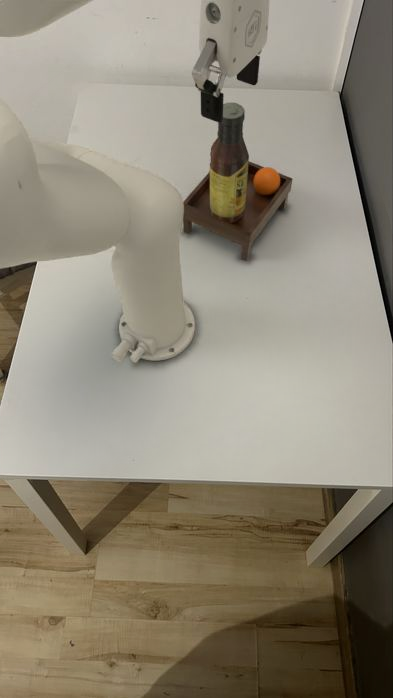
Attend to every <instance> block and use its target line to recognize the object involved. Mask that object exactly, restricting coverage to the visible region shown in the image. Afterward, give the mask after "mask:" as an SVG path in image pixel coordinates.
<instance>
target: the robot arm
mask: <svg viewBox="0 0 393 698" xmlns="http://www.w3.org/2000/svg"><path fill="white" fill-rule="evenodd" d="M93 1H94V0H0V37H2V38H16V37H17V38H18V37H23V36H27V35H30V34H33V33H37V32H39V31H40V30H41V29H44V28H46V27H48V26H50V25H51V24H53V23H55V22H57V21H58V20H61V19H62V18H64V17H66V16H68V15H70V14H71V13H74V12H75V11H77V10H78V9H80V8H82V7H83V6H85V5H87V4H89V3H91V2H93ZM269 11H270V0H200V11H199V13H200V14H199V35H198V36H199V39H198V40H199V41H198V43H199V44H198V47H199V50H198V51H199V56H198V58H197V61H196V62H195V64H194V66H193V68H192V70H191V76H192V78H193V82H194V87H195V88H196V89H197V90H198V91H199V92H200V115H201V117H202V118H206V119H207V120H210V121H213V122H216V123H217V124H218V123H220V122H221V121H222V120H223V104H224V99H225V97H224V95H225V94H224V93H223V92H222V89H223V87H224V83H225V80H226V77H227V78H230V79H231V78H234V77H236V80H237V81H239V82H242V83H245V84H248V85H250V86H256V85H257V84H258V82H259V72H260V71H259V70H260V61H261V60H260V59H261V56H260V55H261V53H262V51H263V49H264V48H265V46H266V43H267V40H268V33H269V32H268V31H269V15H270V12H269ZM215 62H217V63H218V66H219V67H218V66H216V65H213V64H214V63H215ZM211 73H214V74H217V77H216V81H215V83H214V82H213V81H212V80H210V77H211V76H210V75H211ZM183 202H184V199H183V197H182V194H181V193H180V191H179V190H178V188H177V187H175V186H174V185H173V184H172V183H171V182H170V181H168V180H166V179H165V178H163V177H161V176H159V175H158V174H155V173H153V172H150V171H148V170H146V169H143V168H140V167H137V166H135V165H133V164H130V163H128V162H126V161H125V162H124V161H122V160H118V159H115V158H113V157H111V156H108V155H105V154H103V153H100V152H98V151H95V150H92V149H89V148H87V147H83V146H80V145H74V144H70V143H64V142H58V141H52V140H48V139H41V138H36V137H32V136H31V137H30V136H29V134H28V132H27V130H26V128H25V126H24V125H23V122H22V121H21V119H20V118H19V117H18V116H17V114H16V113H15V111H14V110H13V109H12V108H11V107H10V106H9V105H8V104H7V103H6V101H4V100H3V99H2V98H1V97H0V270H1V269H7V268H11V267H17V266H20V265H24V264H29V263H36V262H50V261H56V260H63V259H70V258H79V257H84V256H85V257H86V256H92V255H97V254H99V253H102V252H105V251H107V250H109V249H111V248H113V247H114V248H115V249H114V250H113V252H112V255H111V259H110V267H111V274H112V277H113V281H114V283H115V288H116V289H117V290H116V291H117V294H118V299H119V302H120V305H121V309H122V312H123V313H122V315H121V317H120V319H119V324H118V332H119V337H120V339H121V342H120V343H119V345H117V346H116V348H115V349H114V350H113V351H112V353H111V354H110V357H111V358H112V359H113V360H114V361H116V362H118V363H122V361H123V360H124V358H125V357H126V356H127V355H128V352H129V353H130V354H131V355H130V356H129V359H130V360H131V361H132V362H133V363H134V364H135V363H136V364H137V363H138V362H139V360H140V359H142V360H146V361H152V362H153V361H154V362H155V361H165V360H169V359H171V358H174V357H176V356H178V355H179V354H181V353H182V352H183V351H185V350H186V349H187V348H188V346H189V345H190V344H191V342H192V340H193V338H194V336H195V331H196V323H195V322H196V321H195V316H194V314H193V312H192V310H191V309H190V307H189V306H188V305H187V304H186V303H185V302H184V301H185V300H184V291H183V290H184V289H183V280H182V267H181V258H180V243H181V233H182V229H183V228H182V227H183V215H184V203H183Z"/></svg>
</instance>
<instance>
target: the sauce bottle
mask: <svg viewBox="0 0 393 698" xmlns="http://www.w3.org/2000/svg"><path fill="white" fill-rule="evenodd" d="M245 111H246V110H245V108H244V106H243V105H241V104H240V103H237V102H231V101H230V102H225V103H223V120H222V121H221V122H220V123H218V122H217V132H216V133H217V138H216V139H215V141H213V143H212V145H211V147H210V152H209V153H210V154H209V155H210V162H209V172H210V210H211V215H212V216H215V217H217V218H219V219H221V220H224V221H226V222H228V223H234V222H236V221H238V220H239V219H240V218H241V217H242V216H243V213H244V209H245V202H246V189H247V177H248V163H249V161H250V154H249V151H248V147H247V145H246V143H245V139H244V132H243V129H244V121H245V118H246V117H245V116H246V115H245Z"/></svg>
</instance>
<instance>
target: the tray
mask: <svg viewBox="0 0 393 698" xmlns="http://www.w3.org/2000/svg"><path fill="white" fill-rule="evenodd" d="M262 168H265V167H264V166H262V165H260V164H257V163H255V162H252V161H250V160H249V163H248V177H247V189H246V202H245V209H244V213H243V216H242V217H241V218H240V219H239V220H238V221H236V222H234V223H228V222H226V221H224V220H221V219H219V218H217V217H215V216H212V215H211V210H210V171H209V172H207V174H206V175H205V176H204V177H203V179H201V181H199V183H198V184H197V185H196V187H194V189H193V190H192V191H191V192H190V193H189V195H187V197H186V198H185V199H183V203H184V215H183V222H182V227H183V233H184V234H186V235H191V233H192V232H193V224H195V225H198V226H199V227H202V228H204V229H206V230H208V231H211V232H213V233H215V234H216V235H217V234H218V235H220V236H222V237H224V238H226V239H228V240H231V241H233V242H235V243H238V244H239V245H241V256H240V259H241V260H243V261H246V262H247V261H249V259H250V258H251V249H252V244H253V243H254V241H255V240H256V239H257V237H258V236H259V234H260V233H261V232H262V230H263V229H264V227H265V226H266V225H267V223H269V221H270V220H271V218H272V217H273V215H274V214H276V211H277V210H280V211H282V212H284V211H285V210H286V209H287V205H288V200H289V194H290V192H291V190H292V185H293V179H294V178H292V177H290V176H287V175H285V174H283V173H280V172H278V174H279V176H280V186H279V188H278V189H277V191H276V192H275V193H273V194H271V195H261V194H260V193H258V192H257V191H256V189H255V187H254V184H253V180H254V176H255V174H256V173H257V172H258V171H259V170H260V169H262Z"/></svg>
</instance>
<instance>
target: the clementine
mask: <svg viewBox="0 0 393 698" xmlns="http://www.w3.org/2000/svg"><path fill="white" fill-rule="evenodd" d="M278 173H279V172H278V171H277V170H276V169H274V168H273V167H267V166H266V167H265V168H262V169H260V170H259V171H258V172H257V173H256V174H255V176H254V180H253V184H254V187H255V189H256V191H257V192H258V193H260V194H261V195H271V194H273V193H275V192H276V191H277V189H278V188H279V186H280V176H279V174H278Z"/></svg>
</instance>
